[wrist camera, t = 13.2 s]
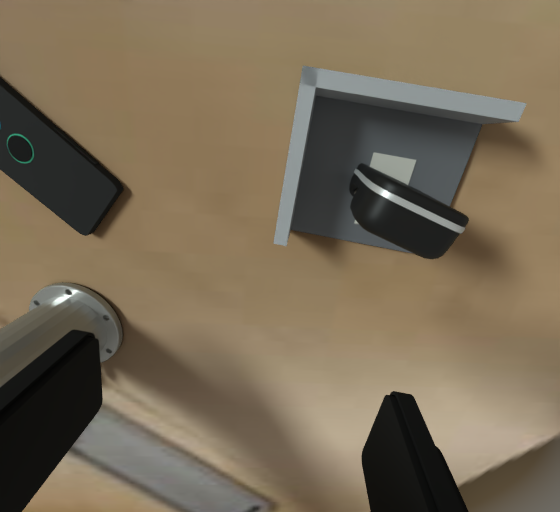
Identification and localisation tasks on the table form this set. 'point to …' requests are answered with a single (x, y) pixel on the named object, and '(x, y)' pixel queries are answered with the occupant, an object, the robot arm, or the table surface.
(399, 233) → the battery charger
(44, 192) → the smart home device
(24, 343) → the robot arm
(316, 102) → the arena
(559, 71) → the table surface
